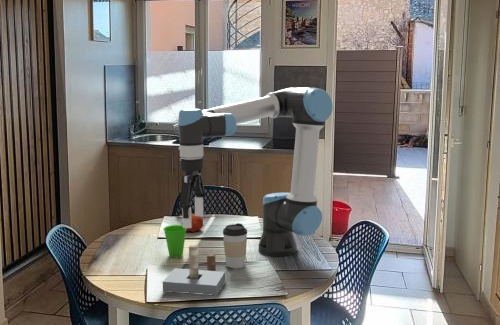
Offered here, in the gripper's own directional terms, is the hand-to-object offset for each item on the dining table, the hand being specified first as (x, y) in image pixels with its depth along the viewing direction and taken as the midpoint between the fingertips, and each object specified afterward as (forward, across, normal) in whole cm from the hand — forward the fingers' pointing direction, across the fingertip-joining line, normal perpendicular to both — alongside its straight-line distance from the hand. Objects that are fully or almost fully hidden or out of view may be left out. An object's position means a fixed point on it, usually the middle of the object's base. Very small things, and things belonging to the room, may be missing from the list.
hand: (193, 221), depth 178 cm
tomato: (+23, -60, -19) cm, 67 cm away
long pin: (+22, 0, 0) cm, 22 cm away
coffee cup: (+23, -22, +9) cm, 33 cm away
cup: (+23, -28, -16) cm, 39 cm away
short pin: (+22, -14, +2) cm, 27 cm away
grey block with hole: (+22, 0, 0) cm, 22 cm away
